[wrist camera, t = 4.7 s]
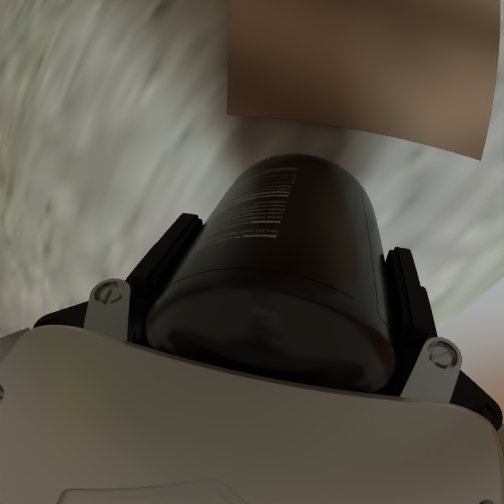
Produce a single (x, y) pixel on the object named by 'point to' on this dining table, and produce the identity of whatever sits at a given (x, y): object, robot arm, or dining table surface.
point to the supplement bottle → (285, 283)
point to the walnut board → (369, 66)
